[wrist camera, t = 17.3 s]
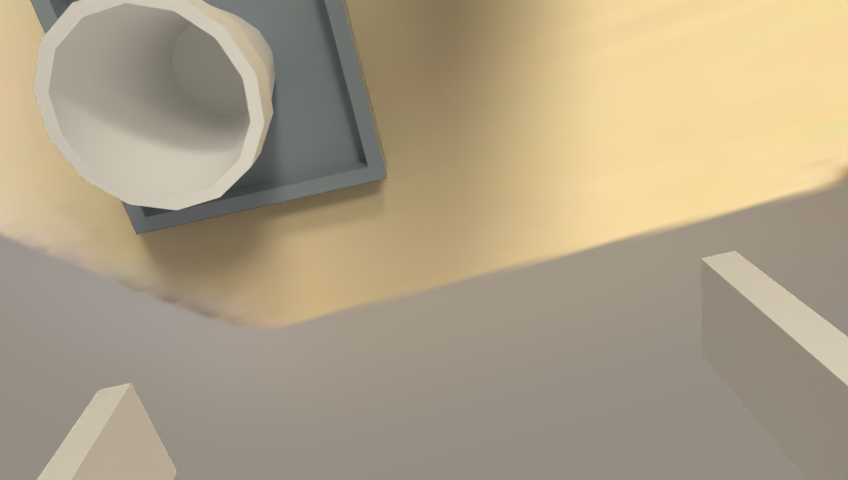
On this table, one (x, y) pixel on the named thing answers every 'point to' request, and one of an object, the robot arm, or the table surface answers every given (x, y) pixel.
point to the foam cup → (155, 97)
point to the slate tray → (290, 111)
